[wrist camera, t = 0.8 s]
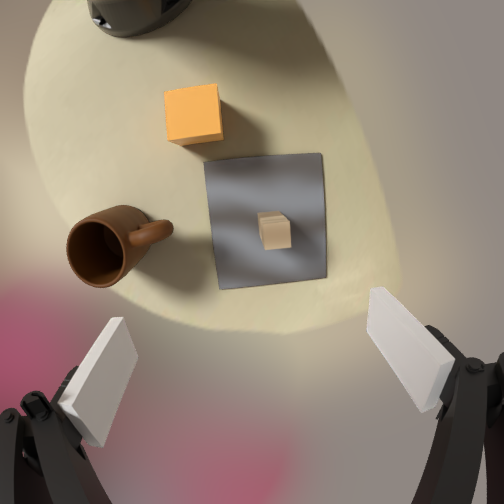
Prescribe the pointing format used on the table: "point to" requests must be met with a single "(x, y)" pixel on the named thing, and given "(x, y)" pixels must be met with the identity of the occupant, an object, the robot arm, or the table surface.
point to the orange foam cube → (193, 115)
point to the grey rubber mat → (267, 219)
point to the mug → (112, 244)
